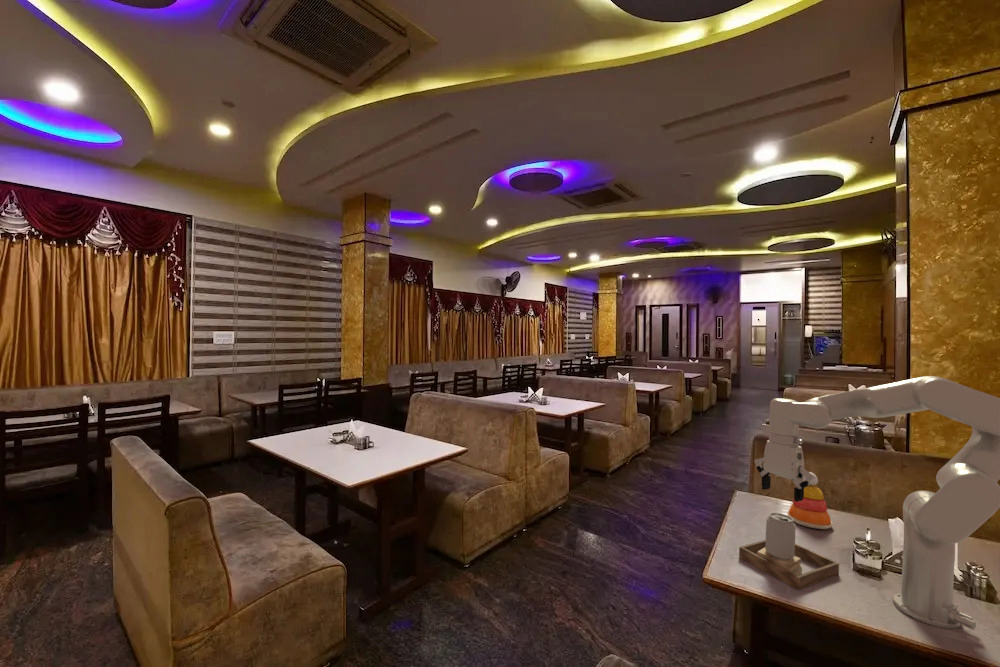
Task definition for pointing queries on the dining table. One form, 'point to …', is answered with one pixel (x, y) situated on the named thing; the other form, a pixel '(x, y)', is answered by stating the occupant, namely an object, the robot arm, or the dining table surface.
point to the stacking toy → (811, 508)
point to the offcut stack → (783, 562)
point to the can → (780, 536)
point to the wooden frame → (798, 582)
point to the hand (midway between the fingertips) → (781, 494)
